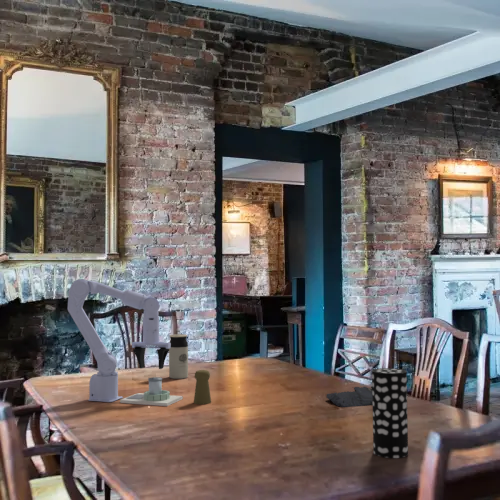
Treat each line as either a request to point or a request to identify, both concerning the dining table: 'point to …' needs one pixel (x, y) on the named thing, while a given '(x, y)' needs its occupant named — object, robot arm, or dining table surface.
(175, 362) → the travel mug
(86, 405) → the dining table surface
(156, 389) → the tube
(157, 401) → the white base plate
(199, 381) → the cork
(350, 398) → the dark slate chunk
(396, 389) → the white-spotted black cylinder
